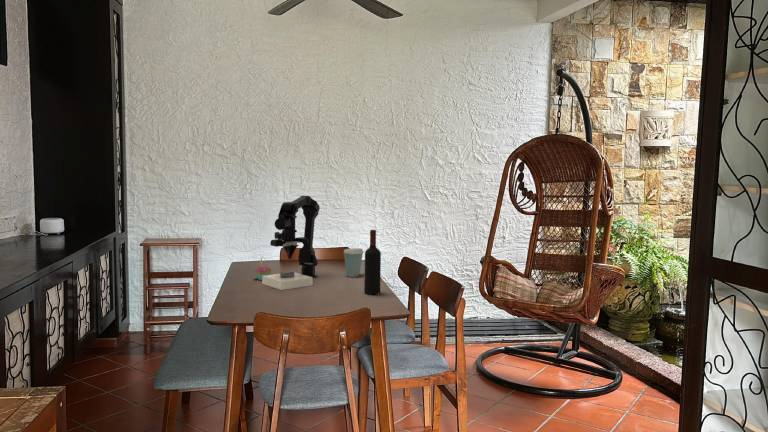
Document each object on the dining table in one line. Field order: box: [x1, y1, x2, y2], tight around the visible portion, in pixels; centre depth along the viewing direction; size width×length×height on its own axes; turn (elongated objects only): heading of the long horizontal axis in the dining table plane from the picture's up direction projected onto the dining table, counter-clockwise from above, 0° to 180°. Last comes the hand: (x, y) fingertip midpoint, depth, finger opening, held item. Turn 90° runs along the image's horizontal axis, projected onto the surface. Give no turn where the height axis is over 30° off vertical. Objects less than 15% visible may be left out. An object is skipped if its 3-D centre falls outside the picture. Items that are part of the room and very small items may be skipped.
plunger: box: [279, 270, 295, 278], centre depth 313 cm, size 7×7×6 cm
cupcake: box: [254, 257, 272, 281], centre depth 325 cm, size 9×8×12 cm
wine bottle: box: [363, 229, 382, 295], centre depth 295 cm, size 8×8×30 cm
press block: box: [261, 271, 314, 291], centre depth 313 cm, size 18×18×4 cm
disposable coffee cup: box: [343, 247, 364, 278], centre depth 337 cm, size 11×11×15 cm
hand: (289, 258), depth 313 cm, fingers closed
